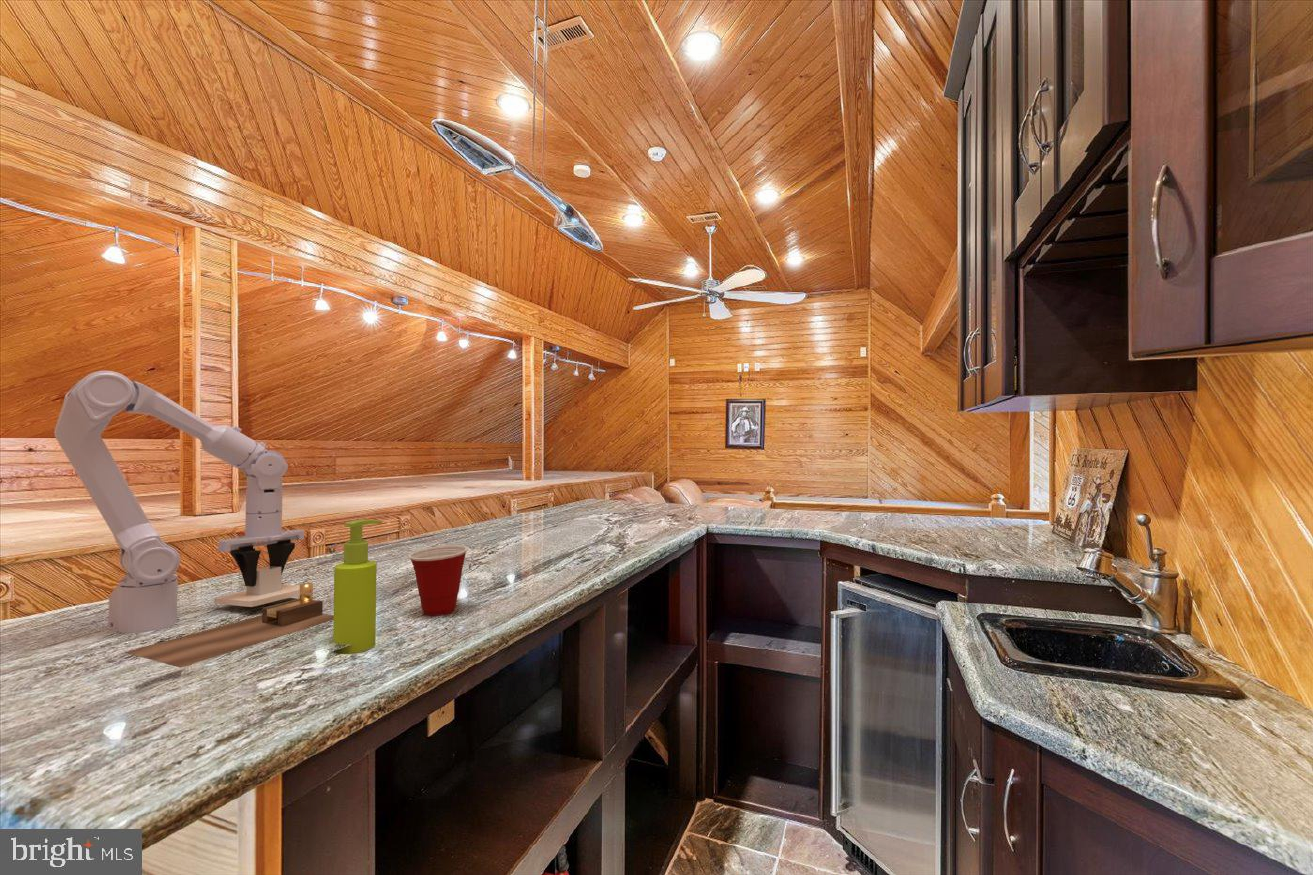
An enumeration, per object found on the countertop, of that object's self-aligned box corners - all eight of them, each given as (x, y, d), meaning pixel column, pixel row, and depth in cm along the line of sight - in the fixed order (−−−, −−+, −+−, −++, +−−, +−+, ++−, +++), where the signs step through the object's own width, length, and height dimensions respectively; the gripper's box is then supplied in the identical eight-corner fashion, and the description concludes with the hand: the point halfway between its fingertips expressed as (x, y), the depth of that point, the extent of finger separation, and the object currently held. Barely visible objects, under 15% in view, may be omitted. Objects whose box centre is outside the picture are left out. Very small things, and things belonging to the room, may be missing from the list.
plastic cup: (397, 611, 105) (398, 549, 105) (452, 600, 112) (452, 542, 113) (421, 624, 97) (422, 557, 97) (477, 611, 105) (478, 549, 105)
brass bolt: (266, 616, 92) (267, 591, 93) (307, 605, 99) (307, 582, 99) (276, 618, 92) (276, 593, 92) (316, 606, 98) (316, 583, 98)
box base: (124, 662, 80) (125, 635, 80) (289, 615, 102) (289, 594, 102) (180, 678, 74) (181, 648, 74) (341, 625, 96) (341, 602, 96)
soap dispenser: (389, 642, 88) (390, 519, 89) (349, 656, 82) (351, 524, 82) (364, 636, 91) (366, 517, 91) (324, 650, 85) (326, 522, 85)
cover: (214, 603, 101) (213, 573, 101) (275, 589, 111) (274, 562, 111) (251, 607, 97) (251, 576, 97) (311, 591, 107) (311, 563, 107)
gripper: (235, 517, 96) (234, 594, 96) (314, 509, 109) (313, 576, 109) (211, 515, 99) (210, 590, 99) (291, 507, 112) (290, 573, 112)
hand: (263, 583), depth 104 cm, fingers closed on cover, 4 cm apart
